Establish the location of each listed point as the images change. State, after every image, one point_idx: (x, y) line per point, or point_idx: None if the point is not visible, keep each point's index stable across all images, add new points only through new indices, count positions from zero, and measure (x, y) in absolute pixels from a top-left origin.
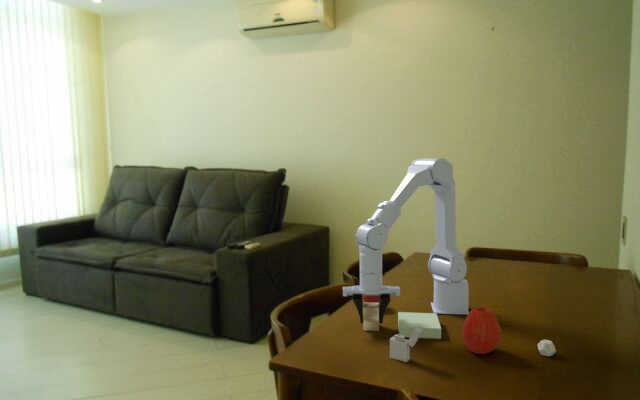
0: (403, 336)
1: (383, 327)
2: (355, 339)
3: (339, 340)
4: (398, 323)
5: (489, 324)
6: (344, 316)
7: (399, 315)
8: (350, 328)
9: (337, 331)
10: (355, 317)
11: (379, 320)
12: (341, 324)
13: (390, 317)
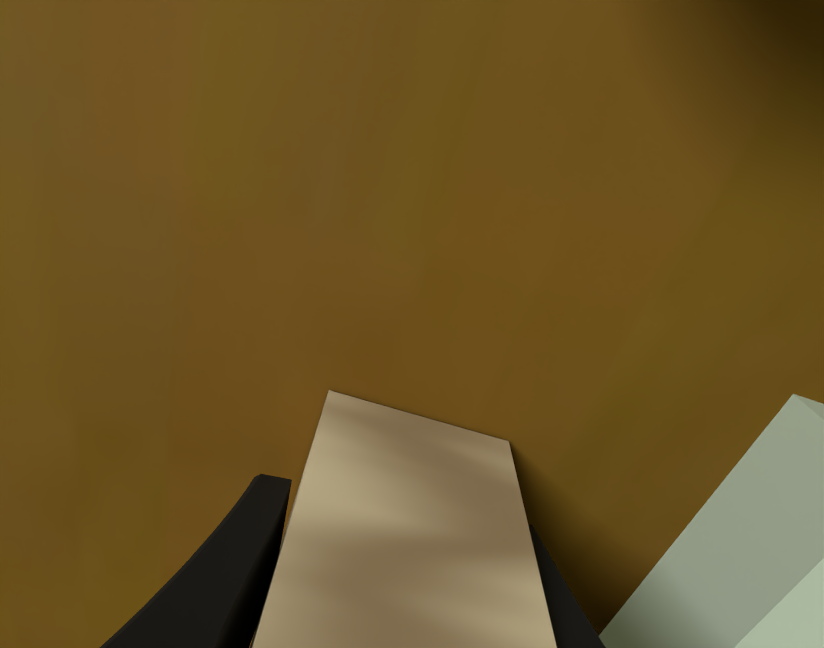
0: None
1: (527, 501)
2: None
3: (45, 630)
4: (714, 544)
5: None
6: (59, 14)
7: (814, 583)
8: (151, 451)
9: (4, 486)
10: (253, 115)
11: None
12: (33, 326)
13: (789, 250)
